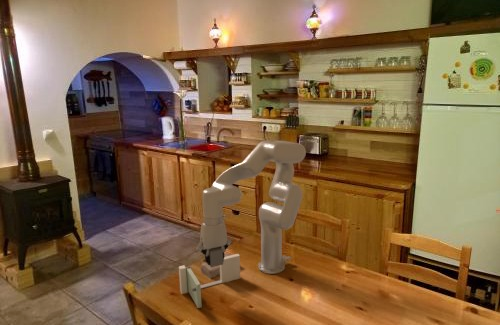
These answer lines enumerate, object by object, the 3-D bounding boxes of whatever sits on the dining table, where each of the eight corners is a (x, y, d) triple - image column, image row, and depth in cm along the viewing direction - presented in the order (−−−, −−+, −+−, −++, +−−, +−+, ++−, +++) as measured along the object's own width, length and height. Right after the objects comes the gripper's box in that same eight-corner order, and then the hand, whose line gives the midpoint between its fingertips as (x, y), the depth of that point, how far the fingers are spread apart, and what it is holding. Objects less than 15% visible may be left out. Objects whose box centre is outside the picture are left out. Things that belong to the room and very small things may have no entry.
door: (201, 307, 140) (200, 283, 137) (194, 309, 138) (193, 285, 136) (190, 287, 153) (189, 266, 150) (184, 289, 152) (182, 267, 149)
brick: (210, 279, 160) (210, 269, 159) (200, 272, 167) (199, 262, 166) (239, 266, 171) (239, 257, 170) (228, 260, 177) (228, 251, 176)
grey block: (218, 259, 148) (218, 244, 147) (223, 264, 144) (222, 249, 142) (207, 261, 146) (206, 247, 145) (211, 267, 142) (210, 252, 140)
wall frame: (238, 275, 162) (237, 252, 160) (240, 278, 160) (239, 254, 158) (180, 291, 151) (178, 266, 149) (181, 294, 149) (180, 269, 146)
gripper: (229, 212, 148) (230, 253, 152) (189, 220, 141) (191, 262, 145) (237, 218, 141) (238, 261, 145) (195, 227, 134) (197, 271, 138)
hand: (214, 261), depth 145 cm, fingers closed on grey block, 5 cm apart
